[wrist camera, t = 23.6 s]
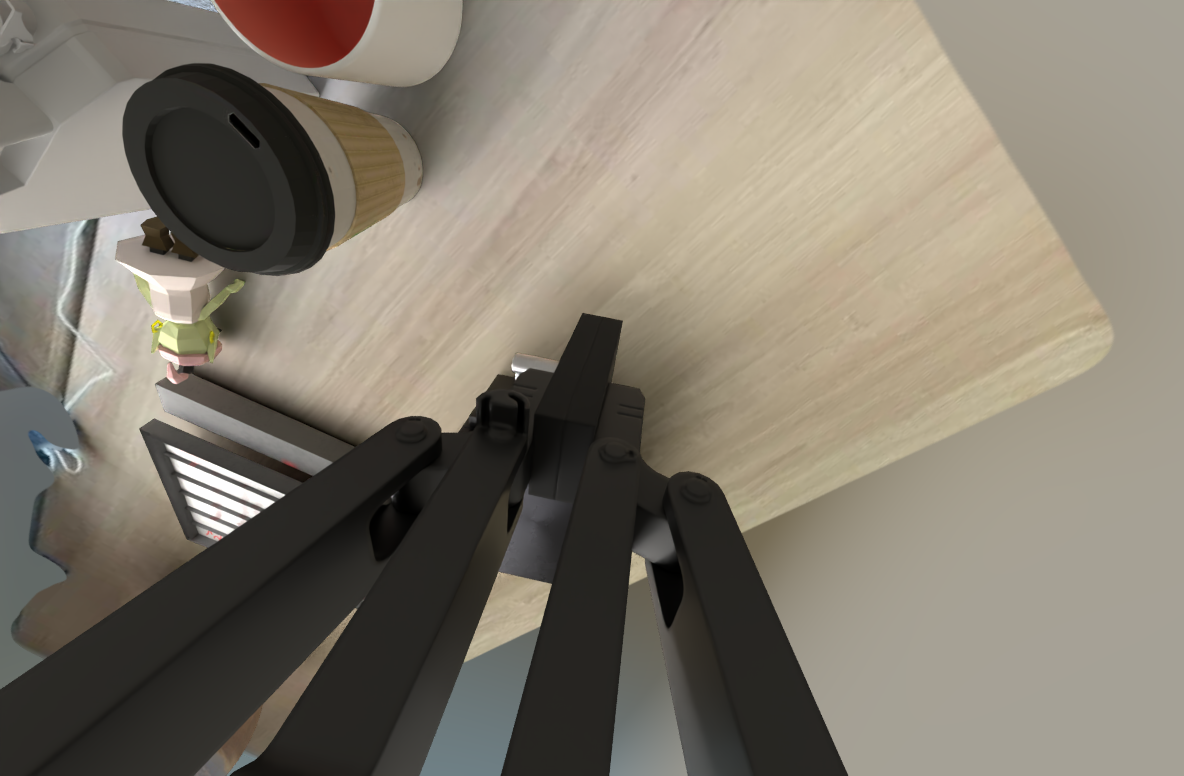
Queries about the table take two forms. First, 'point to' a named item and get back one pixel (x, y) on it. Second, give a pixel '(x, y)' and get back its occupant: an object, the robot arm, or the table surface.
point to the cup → (350, 36)
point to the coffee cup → (262, 167)
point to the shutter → (228, 457)
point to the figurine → (176, 296)
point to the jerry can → (94, 97)
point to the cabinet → (535, 536)
